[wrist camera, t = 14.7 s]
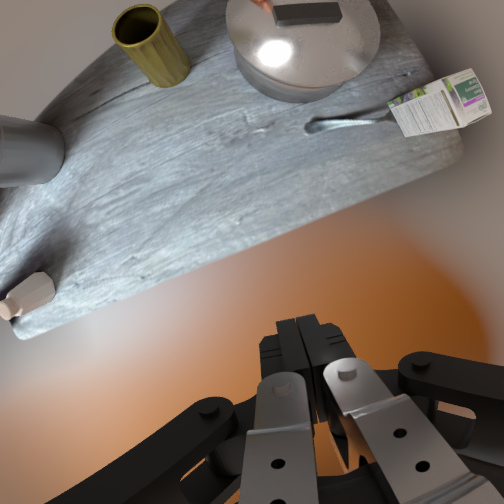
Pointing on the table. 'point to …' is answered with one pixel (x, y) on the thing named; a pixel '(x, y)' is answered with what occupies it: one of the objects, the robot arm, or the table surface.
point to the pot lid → (305, 39)
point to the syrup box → (441, 105)
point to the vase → (151, 45)
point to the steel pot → (280, 86)
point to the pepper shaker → (28, 296)
